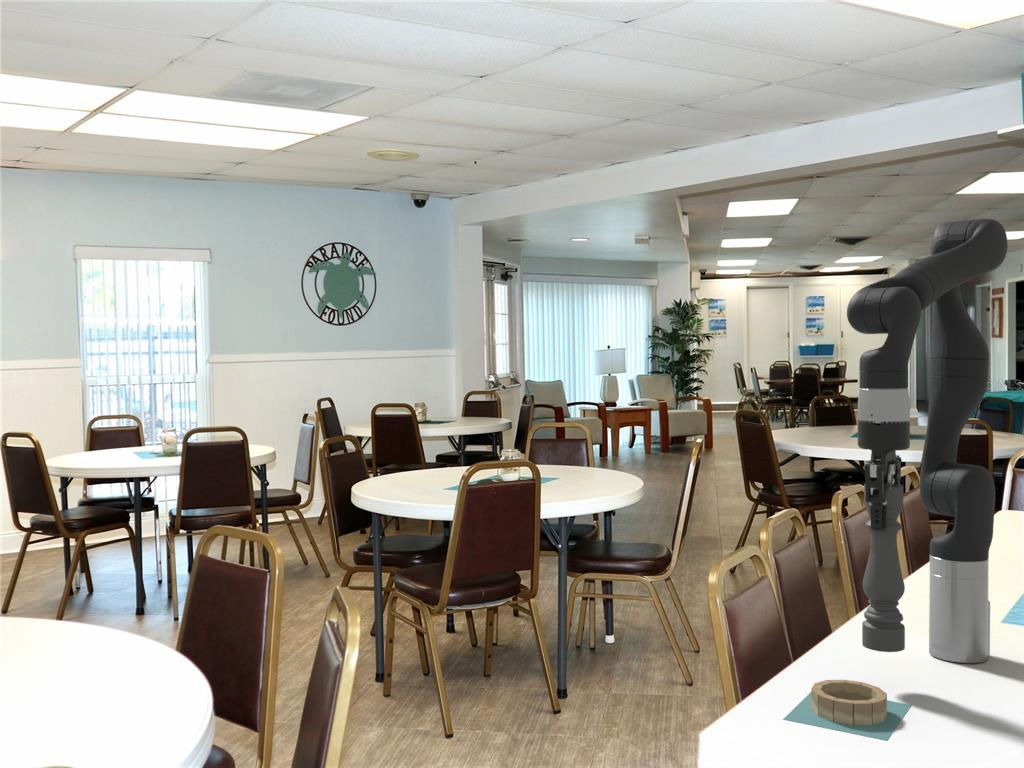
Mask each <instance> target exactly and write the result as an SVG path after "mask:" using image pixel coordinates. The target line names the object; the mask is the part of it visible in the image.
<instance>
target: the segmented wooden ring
mask: <svg viewBox="0 0 1024 768" xmlns="http://www.w3.org/2000/svg"><path fill="white" fill-rule="evenodd" d="M810 692H811V709H812V710H813V711H814V712H815V713H816V714H817V716H819V717H822V718H825V719H827V720H830V721H834V722H838V723H844V724H850V725H873V724H876V723H880V722H883V721H885V718H886V716H887V700H888V694H887V692H886V691H884V690H883V689H881V688H880V687H878V686H876V685H872V684H869V683H866V682H863V681H856V680H849V679H825V680H822V681H818V682H817V681H816V682H815V683H813V685H812V687H811V691H810Z"/></svg>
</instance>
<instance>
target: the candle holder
mask: <svg viewBox="0 0 1024 768" xmlns="http://www.w3.org/2000/svg"><path fill="white" fill-rule="evenodd" d="M863 485H864V486H863V487H864V488H863V489H864V491H863V494H864V496H863V505H864V506H865V511H866V512H867V514H868V517H869V518H870V519H869V520H868V521H866V522H865V528H866V529H868V532H869V534H870V535H869V537H870V538H869V539H870V541H869V542H870V544H869V545H870V546H869V547H870V550H869V554H868V559H867V563H866V567H865V572H864V573H863V574H864V575H863V579H862V590H863V592H864V594H865V596H866V597H867V599H868V600H867V602H868V604H869V606H867V609H866V610H865V611H864V613H863V616H864V618H865V620H863V621H862V623H861V624H862V629H861V630H862V631H861V632H862V634H861V637H862V638H861V639H862V641H861V642H862V643H861V644H862V647H864V648H866V649H868V650H871V651H876V652H882V653H897V652H902V651H904V650H905V649H906V643H905V642H906V628H905V627H906V626H905V625H904V623H901V622H903V621H904V616H903V614H902V612H901V611H900V610H899V608H898V607H897V606H898V605H900V603H899V601H900V600H901V599H902V598H903V595H904V594H905V589H906V588H905V587H906V585H905V582H904V579H903V578H904V577H903V574H902V569H901V566H900V561H899V556H898V552H897V551H898V546H897V545H898V538H897V537H898V534H899V531H902V528H903V527H902V524H901V523H900V522H899V521H898V518H899V516H900V514H901V513H902V508H903V507H904V485H903V484H901V483H900V484H893V485H892V491H891V492H888V500H887V501H888V504H887V529H886V530H885V531H876V530H872V529H871V505H869V503H867V502H866V499H865V498H866V488H865V483H863ZM874 495H879V490H876V491H875V492H874Z"/></svg>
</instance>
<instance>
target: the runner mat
mask: <svg viewBox="0 0 1024 768" xmlns="http://www.w3.org/2000/svg"><path fill="white" fill-rule="evenodd" d="M912 705H913V704H909V703H903V702H897V701H892V700H888V699H887V716H886V718H885V721H883V722H880V723H876V724H873V725H850V724H844V723H838V722H834V721H830V720H827V719H825V718H822V717H819V716H817V714H816V713H815V712H814V711H813V710H812V709H811V691H810V692H809V693H808V694H807V696H805V697H804V698H803V699H802V700H801V701H800V702H799V703H798V704H797V705H795V707H794V708H793V709H791V711H790V712H789V713H788V714H786V716H785V717H783V719H782V720H784V721H789V722H794V723H799V724H803V725H808V726H812V727H817V728H822V729H827V730H832V731H838V732H841V733H842V732H843V733H848V734H851V735H856V736H862V737H866V738H871V739H872V738H873V739H877V740H882V741H886V742H887V741H888V740H889V739H890V737H892V735H893V733H894V732H895V730H896V729H897V727H898V726H899V725H900V723H901V721H902V720H903V719H904V718H905V715H906V714H907V713H908V712H909V710H910V709H911V707H912Z"/></svg>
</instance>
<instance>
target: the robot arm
mask: <svg viewBox="0 0 1024 768" xmlns="http://www.w3.org/2000/svg"><path fill="white" fill-rule="evenodd" d="M1007 253H1008V236H1007V233H1006V229H1005V228H1004V226H1003V224H1002V223H1001V222H1000V221H998V220H996V219H993V218H976V219H975V218H974V219H963V220H956V221H955V220H954V221H947V222H943V223H940V224H939V225H938V226H937V227H936V229H935V230H934V233H933V236H932V238H931V249H930V255H928V256H926V257H923V258H921V259H918V260H916V261H914V262H912V263H909V265H907V266H905V267H904V268H903V269H901V270H900V271H898V272H897V273H896V274H895V275H893V276H891V277H888V278H885V279H882V280H879V281H876V282H873V283H870V284H868V285H866V286H864V287H862V288H860V289H858V290H857V291H856V292H855V293H854V294H853V295H852V297H851V298H850V300H849V302H848V304H847V308H846V318H847V321H848V323H849V325H850V327H852V328H853V329H854V330H855V331H856V332H858V333H860V334H862V335H863V334H864V335H882V334H883V335H886V334H887V336H886V339H885V341H884V343H883V345H881V346H880V347H877V348H874V349H869V350H867V351H864V352H863V353H862V354H861V356H860V357H859V366H858V368H859V389H858V390H859V391H858V398H857V446H858V448H860V449H862V450H870V451H871V452H870V453H871V454H870V460H868V461H867V463H864V467H863V469H864V484H865V488H866V498H865V499H866V502H867V503H869V505H871V529H872V530H876V531H885V530H886V529H887V504H888V501H887V500H888V492H891V491H892V485H893V484H900V485H901V477H902V476H901V475H902V470H901V469H902V461H903V460H902V457H901V456H897V453H896V451H905V450H908V449H909V448H910V447H911V402H910V401H911V399H910V395H909V362H910V358H911V357H910V356H911V353H912V349H913V344H914V341H915V338H916V334H917V331H918V329H919V326H920V325H919V324H920V321H921V318H922V317H921V315H922V311H923V310H925V309H926V308H927V307H928V306H931V305H932V328H931V329H932V331H931V333H932V335H931V336H932V337H931V346H930V347H931V348H930V359H929V360H930V362H929V395H928V396H929V397H928V414H927V423H926V424H927V425H926V426H927V427H926V433H925V434H926V435H925V441H924V449H923V455H922V456H923V457H922V463H921V468H920V476H919V496H920V500H921V503H922V505H923V507H924V508H925V509H926V510H927V511H928V512H930V513H933V514H935V515H943V516H948V517H954V519H955V520H954V524H953V525H954V526H953V529H952V531H950V532H948V533H946V534H941V535H937V536H933V537H932V539H931V540H930V541H929V595H928V596H929V603H928V605H929V607H928V609H929V610H928V611H929V612H928V614H929V617H928V619H929V620H928V621H929V622H928V624H929V626H928V653H929V654H930V655H931V656H932V657H935V658H938V659H940V660H944V661H949V662H954V663H961V664H979V663H983V662H986V661H987V660H988V658H989V656H990V655H991V653H990V651H991V602H990V600H989V557H990V548H991V545H992V542H993V539H994V538H993V537H994V523H995V509H996V508H995V507H996V486H995V481H994V478H993V475H992V474H991V472H990V471H989V470H988V469H987V468H985V467H984V466H981V465H976V464H975V465H974V464H969V463H968V464H966V463H957V461H958V460H957V457H958V448H959V441H960V437H961V435H962V431H963V429H964V428H965V426H966V424H967V423H968V421H969V420H970V418H971V417H972V415H973V414H974V412H975V411H976V410H977V407H978V406H980V403H981V402H982V400H983V398H984V396H985V394H986V392H987V389H988V383H989V381H988V380H989V365H990V364H989V363H990V362H989V360H990V353H989V352H990V350H989V347H988V344H987V342H986V340H985V338H984V337H983V335H982V333H981V331H980V329H979V328H978V326H977V324H976V323H975V322H974V321H973V319H972V317H971V315H970V314H969V313H968V310H967V308H966V306H965V304H964V302H963V298H962V293H961V285H962V284H965V283H967V282H969V281H971V280H973V279H975V278H977V277H978V276H981V275H984V274H987V273H989V272H992V271H994V270H996V269H998V268H999V267H1000V266H1001V265H1002V264H1003V263H1004V260H1005V258H1007ZM876 490H879V495H874V492H875V491H876Z"/></svg>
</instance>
